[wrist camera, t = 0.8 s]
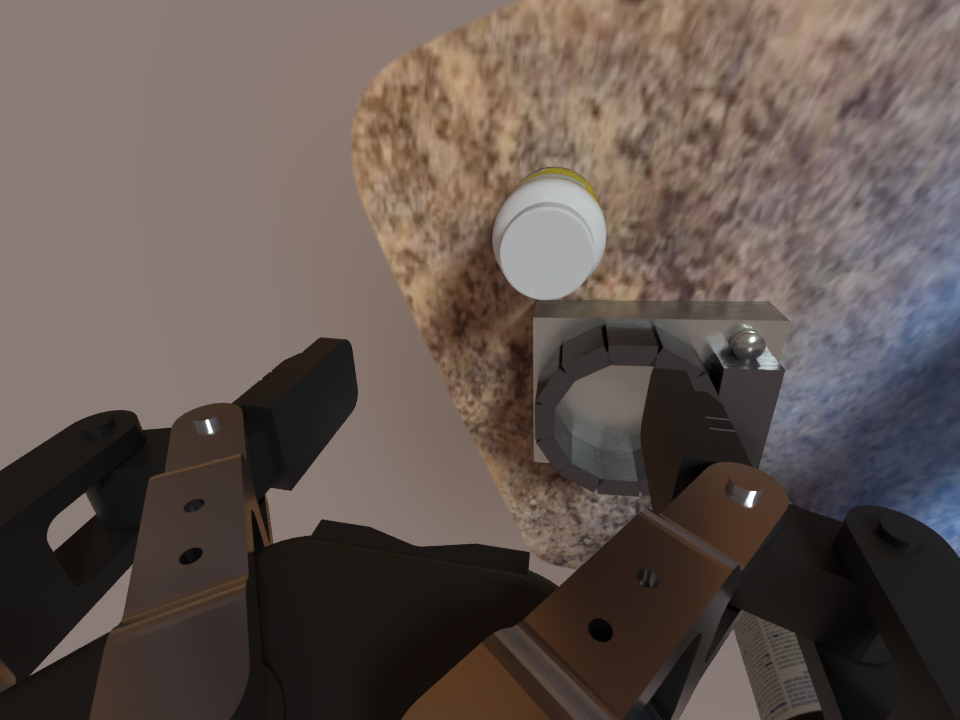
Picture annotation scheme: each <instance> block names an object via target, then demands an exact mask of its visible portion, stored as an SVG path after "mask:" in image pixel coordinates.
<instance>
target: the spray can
mask: <svg viewBox="0 0 960 720" xmlns="http://www.w3.org/2000/svg"><path fill="white" fill-rule="evenodd" d="M789 503H790V504H792V503H791V502H790V501H789ZM792 505H793V504H792ZM734 631H735V635H736V639H737V642H738V645H739V648H740V652H741V655H742V658H743V662H744V665H745V668H746V671H747V674H748V678H749V681H750V684H751V688H752V691H753V694H754V698H755V701H756V705H757V708H758V711H759V715H760V718H761V720H825V718H824V715H823V712H822V710H821V707H820V704H819V701H818V698H817V695H816V692H815V689H814V687H813V684H812V681H811V678H810V675H809V672H808V669H807V666H806V663H805V661H804V658H803V655H802V652H801V649H800V646H799V643H798V640H797V638H796V635H795V633H794V632H791V631H789V630H787V629H784V628H782V627H780V626H777V625H775V624H773V623H771V622H768V621H766V620H764V619H761V618H759V617H757V616H754V615H752V614H750V613H747V612H745V611H744V613H743V614H742V616H741V617H740V619H739V620H738V622H737V624H736V625H735V627H734Z"/></svg>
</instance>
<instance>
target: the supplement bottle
mask: <svg viewBox="0 0 960 720" xmlns="http://www.w3.org/2000/svg"><path fill="white" fill-rule="evenodd" d="M492 244H493V251H494V255H495V258H496V261H497V263H498V265H499V267H500V269H501V270H502V271H503V274H504V276H505V277H506V279H507V281H508V282H509V283H510V284H511V285H512V287H513V288H515V289H516V290H517V291H518V292H520V293H521V294H523V295H525V296H527V297H530V298H533V299H537V300H554V299H558V298H562V297H564V296H567V295H568V294H570V293H572V292H574V291H575V290H576V289H577V288H578V287H580V286H581V285H582V283H583V282H584V281H585V280H586V279H587V278H588V277H589V276H590V275H591V274H592V273H593V272H594V270H595V269H596V267H597V266H598V264H599V262H600V260H601V258H602V256H603V253H604V250H605V244H606V225H605V219H604V216H603V213H602V210H601V208H600V205H599V202H598V199H597V197H596V194H595V192H594V190H593V189H592V187H591V186H590V184H589V183H588V182H587V181H586V180H585V179H584V178H583V177H582V176H581V175H579V174H578V173H576V172H574V171H572V170H569V169H566V168H562V167H547V168H542V169H539V170H537V171H534V172H533V173H531V174H529V175H528V176H526V177H525V178H524V179H523V180H521V182H520V183H519V184H518V185H517V186H516V187H515V189H514V190H513V191H512V193H511V194H510V196H509V197H508V198H507V200H506V201H505V202H504V204H503V205H502V207H501V209H500V210H499V212H498V215H497V217H496V220H495V223H494V227H493V234H492Z"/></svg>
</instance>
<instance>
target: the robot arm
mask: <svg viewBox="0 0 960 720" xmlns="http://www.w3.org/2000/svg"><path fill="white" fill-rule="evenodd" d="M357 397H358V387H357V380H356V373H355V365H354V358H353V351H352V346H351V344H350V342H349V341H348V340H346V339H334V338H323V337H321V338H319V339H318V340H316V341H315V342H314V343H313V344H312V345H310V346H309V347H308V348H307V349H306V350H305V351H303V352H302V353H299V354H297V355H295V356H293V357H291V358H288V359H286V360H284V361H283V362H281V363H280V364H279V365H278V366H277V367H275V368H274V369H273V370H272V372H269V373H268V374H267V375H266V376H264V377H263V378H262V381H261V380H260V381H259V382H257V383H256V384H255V385H254V386H252V387H251V388H250V389H249V390H247V391H246V392H245V393H244V394H243V395H241V396H240V397H239V398H238V399H237V400H235V401H234V402H233V403H232V404H231V403H215V404H209V405H205V406H201V407H198V408H196V409H193V410H191V411H189V412H187V413H185V414H183V415H182V416H181V417H179V418H178V419H177V420H176V421H175V422H174V423H173V425H172V428H162V429H149V430H142V427H141V426H140V422H139V420H138V417H137V415H136V414H135V413H133V412H131V411H126V410H115V411H107V412H103V413H98V414H95V415H92V416H89V417H86V418H84V419H81V420H79V421H77V422H75V423H74V424H72V425H70V426H69V427H67V428H65V429H64V430H63V431H61V432H59V433H58V434H56V435H55V436H53V437H52V438H50V439H49V440H47V441H45V442H44V443H42V444H41V445H39V446H38V447H37V448H35V449H33V450H32V451H30V452H28V453H27V454H25V455H24V456H22V457H21V458H19V459H18V460H16V461H15V462H13V463H12V464H10V465H8V466H7V467H5V468H4V469H2V470H1V471H0V720H678V719H679V718H680V716H681V714H682V713H683V711H684V709H685V707H686V705H687V703H688V702H689V699H690V698H691V695H692V694H693V692H694V690H695V687H696V686H697V684H698V682H699V680H700V679H701V677H702V676H703V674H704V672H705V671H706V669H707V668H708V666H709V665H710V663H711V661H712V660H713V659H714V657H715V656H716V654H717V653H718V651H719V649H720V648H721V646H722V645H723V643H724V642H725V640H726V639H727V637H728V636H729V634H730V633H731V631H732V630H733V628H734V627H735V625H736V624H737V622H738V620H739V619H740V617H741V616H742V614H743V613H744V611H745V612H747V613H750V614H752V615H754V616H757V617H759V618H761V619H764V620H766V621H768V622H771V623H773V624H775V625H777V626H780V627H782V628H784V629H787V630H789V631H791V632H794V633H795V635H796V638H797V640H798V643H799V646H800V649H801V652H802V655H803V658H804V661H805V663H806V666H807V669H808V672H809V675H810V678H811V681H812V684H813V687H814V689H815V692H816V695H817V698H818V701H819V704H820V707H821V710H822V712H823V715H824V718H825V720H960V558H959V557H958V555H957V554H956V553H955V551H954V550H953V549H952V548H951V546H950V545H949V544H948V543H947V542H946V541H945V540H944V539H943V538H942V537H941V536H940V535H939V534H937V533H936V532H935V531H933V530H932V529H931V528H929V527H928V526H926V525H925V524H923V523H921V522H919V521H918V520H916V519H914V518H912V517H909V516H907V515H905V514H903V513H900V512H897V511H894V510H891V509H888V508H883V507H879V506H857V507H855V508H852V509H851V510H850V511H849V512H848V513H847V515H846V517H845V519H844V521H843V522H841V521H838V520H835V519H832V518H828V517H825V516H822V515H819V514H816V513H813V512H810V511H807V510H804V509H802V508H799V507H797V506H795V505H792V504H790V503H789V498H788V495H787V493H786V491H785V490H784V488H783V487H782V486H781V485H780V484H779V483H778V482H777V481H776V480H775V479H773V478H772V477H771V476H769V475H768V474H766V473H764V472H762V471H760V470H758V469H756V468H753V466H752V464H751V462H750V460H749V458H748V456H747V454H746V452H745V450H744V448H743V446H742V444H741V442H740V440H739V438H738V435H737V433H736V432H734V430H735V429H734V427H733V425H732V423H731V421H729V417H728V415H727V413H726V411H725V409H724V407H723V405H722V404H721V403H720V402H719V401H718V400H716V399H715V398H714V397H713V396H712V395H710V394H709V393H708V392H703V391H695V390H694V388H693V385H692V383H691V380H690V378H689V376H688V373H687V371H686V370H678V369H667V368H656V367H654V368H653V370H652V372H651V376H650V381H649V386H648V391H647V396H646V401H645V406H644V411H643V416H642V422H641V433H640V440H641V448H642V454H643V459H644V465H645V470H646V476H647V481H648V487H649V493H650V498H651V504H652V509H653V511H652V510H650V509H644V510H642V511H641V512H639V513H638V514H637V515H636V516H635V517H634V518H633V519H632V520H631V521H630V522H628V523H627V524H626V525H625V526H624V527H623V528H622V529H621V530H620V531H619V532H618V533H616V534H615V535H614V536H613V537H612V538H611V539H610V540H609V541H608V542H607V543H606V544H605V545H603V546H602V547H601V548H600V549H599V550H598V551H597V552H596V553H595V554H594V555H593V556H592V557H590V558H589V559H588V560H587V561H586V562H585V563H584V564H583V565H582V566H581V567H580V568H579V569H577V570H576V571H575V572H574V573H573V574H572V575H571V576H570V577H569V578H568V579H567V580H566V581H565V582H563V583H562V584H561V585H560V586H559V587H558V586H557V585H556V584H554V583H553V582H551V581H550V580H548V579H546V578H544V577H543V576H541V575H539V574H537V573H534V572H532V571H529V556H530V552H525V551H519V550H512V549H506V548H500V547H494V546H487V545H480V544H462V545H444V546H427V547H419V546H414V545H411V544H409V543H406V542H404V541H402V540H399V539H397V538H395V537H392V536H390V535H388V534H385V533H383V532H381V531H378V530H376V529H373V528H371V527H367V526H360V525H354V524H348V523H341V522H335V521H329V520H321V521H320V523H319V524H318V526H317V527H316V529H315V531H314V532H313V534H312V535H311V536H303V537H297V538H291V539H288V540H284V541H280V542H277V543H274V544H273V537H272V530H271V522H270V514H269V507H268V502H267V498H266V492H267V491H268V490H269V489H270V488H276V489H283V490H290V491H291V490H292V489H293V488H294V486H295V485H296V484H297V483H298V481H299V480H300V479H301V477H302V476H303V475H304V474H305V472H306V471H307V470H308V468H309V467H310V466H311V464H312V463H313V462H314V461H315V459H316V458H317V457H318V455H319V454H320V453H321V451H322V450H323V449H324V447H325V446H326V445H327V444H328V442H329V441H330V440H331V439H332V437H333V436H334V435H335V433H336V432H337V431H338V430H339V428H340V427H341V425H342V424H343V423H344V422H345V420H346V419H347V418H348V416H349V415H350V414H351V413H352V411H353V410H354V408H355V406H356V402H357ZM84 493H86V495H87V497H88V499H89V501H90V503H91V505H92V507H93V509H94V511H95V512H96V515H95V516H94V517H93V518H91V519H90V520H89V521H88V522H87V523H86V524H85V525H83V526H82V527H81V528H80V529H79V530H78V531H77V532H76V533H74V535H72V536H71V537H70V538H69V539H68V540H66V541H65V542H64V543H63V544H62V545H61V546H60V547H59V548H58V549H56V550H55V551H54V552H53V551H52V549H51V547H50V546H49V544H48V542H47V531H48V528H49V525H50V523H51V522H52V520H53V519H54V518H55V517H56V516H57V515H58V514H59V513H60V512H61V511H63V510H64V509H65V508H66V507H68V506H69V505H70V504H71V503H73V502H74V501H75V500H76V499H77V498H79V497H80V496H81V495H82V494H84ZM132 564H133V566H132V572H131V577H130V582H129V587H128V593H127V598H126V604H125V609H124V614H123V618H122V620H121V622H120V624H119V625H117V626H116V627H114V628H113V629H112V631H110V632H108V633H106V634H105V635H103V636H101V637H99V638H97V639H96V640H94V641H92V642H90V643H88V644H87V645H85V646H83V647H81V648H79V649H78V650H76V651H74V652H72V653H70V654H69V655H67V656H65V657H63V658H61V659H59V660H58V661H56V662H54V663H52V664H50V665H49V666H47V667H45V668H43V669H41V670H40V671H38V672H36V673H34V674H32V675H31V676H29V675H30V674H31V673H32V672H33V671H34V670H35V669H36V668H37V667H38V666H39V665H40V664H41V663H42V661H43V660H44V659H45V658H46V657H47V656H48V655H49V654H50V653H51V652H52V650H54V648H55V647H56V646H57V645H58V644H59V643H60V642H61V641H62V640H63V639H64V638H65V637H66V635H67V634H68V633H69V632H70V631H71V630H72V629H73V628H74V627H75V626H76V625H77V623H79V621H80V620H81V619H82V618H83V617H84V616H85V615H86V614H87V613H88V612H89V611H90V609H92V607H93V606H94V605H95V604H96V603H97V602H98V601H99V600H100V599H101V598H102V597H103V595H104V594H105V593H106V592H107V591H108V590H109V589H110V588H111V587H112V586H113V585H114V584H115V583H116V582H117V580H118V579H119V578H120V577H121V576H122V575H123V574H124V573H125V572H126V570H128V569H129V567H130V566H131V565H132Z"/></svg>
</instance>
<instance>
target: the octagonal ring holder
mask: <svg viewBox="0 0 960 720" xmlns="http://www.w3.org/2000/svg"><path fill="white" fill-rule="evenodd" d="M788 325H789V320H788V319H787V318H786V317H785V316H784V315H783V314H782V313H781V312H780V311H779V310H778V309H777V308H776V307H775V306H773V305H772V304H771V303H770V302H731V301H570V300H536V305H535V310H534V315H533V409H534V462H542V463H550V464H551V465H552V467H553V468H554V470H555V471H556V472H557V471H559V475H561V476H563V477H565V478H567V479H569V480H571V481H573V482H575V483H577V484H578V485H580V486H582V487H584V488H586V489H588V490H590V491H592V492H594V491H595V490H596V489H597V491H598V494H611V495H623V496H636V497H639V492H640V491H641V493H642V495H643V496H646V495H649V494H650V493H649V487H648V481H647V476H646V470H645V465H644V459H643V454H642V448H641V440H640V433H641V422H642V416H643V411H644V406H645V401H646V396H647V391H648V386H649V381H650V376H651V372H652V370H653V368H654V367H656V368H667V369H678V370H686V371H687V373H688V376H689V378H690V380H691V383H692V385H693V388H694V390H695V391H703V392H708V393H709V394H710V395H712V396H713V397H714V398H715V399H716V400H718V401H719V402H720V403H721V404H722V405H723V407H724V409H725V411H726V413H727V415H728V417H729V421H731V423H732V425H733V427H734V429H735V430H734V432H736V433H737V435H738V438H739V440H740V442H741V444H742V446H743V448H744V450H745V452H746V454H747V456H748V458H749V460H750V462H751V464H752V466H753V468H756V469H758V468H759V464H760V460H761V457H762V453H763V449H764V446H765V442H766V438H767V435H768V431H769V427H770V424H771V420H772V416H773V413H774V409H775V405H776V402H777V398H778V394H779V391H780V387H781V383H782V380H783V376H784V372H785V369H784V368H783V367H782V366H781V365H780V363H779V359H780V355H781V351H782V348H783V344H784V340H785V336H786V332H787V329H788Z"/></svg>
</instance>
